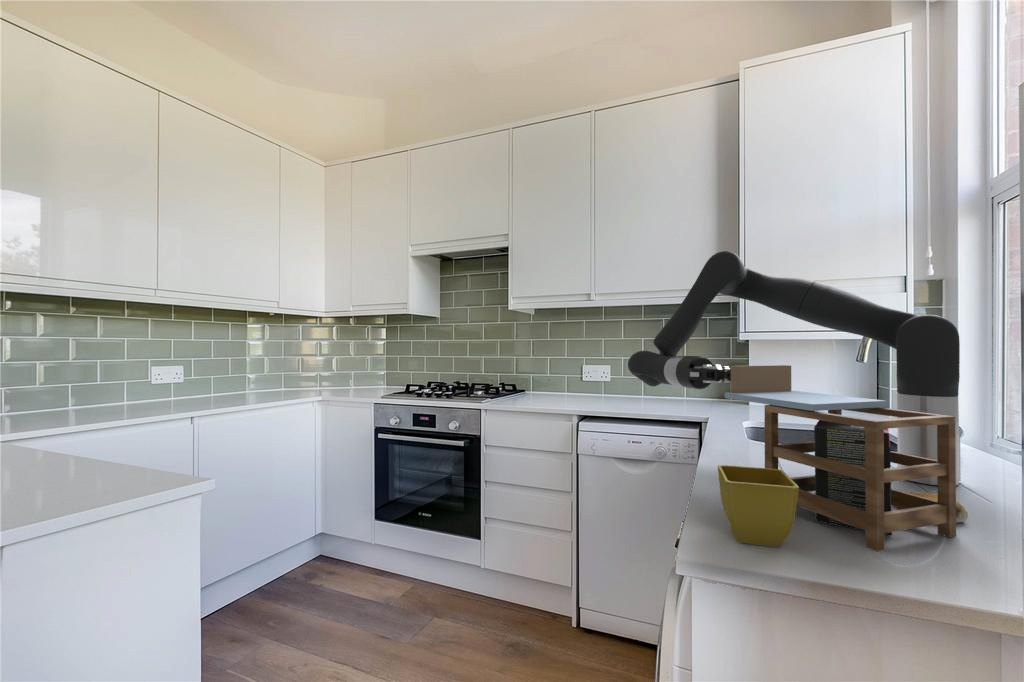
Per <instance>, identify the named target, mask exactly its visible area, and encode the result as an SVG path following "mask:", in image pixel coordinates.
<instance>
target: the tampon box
mask: <svg viewBox="0 0 1024 682" xmlns="http://www.w3.org/2000/svg"><path fill="white" fill-rule="evenodd" d="M813 430H814V433H813V437H814V438H813V440H814V441H815V452H814V455H815V456H819V457H823V458H827V459H831V460H835V461H839V462H843V463H847V464H851V465H856V466H860V467H864V468H865V427H858V426H852V425H846V424H840V423H834V422H828V421H822V420H817V423H816V424H815V425H814V429H813ZM890 451H891V439H890V433H889V428H888V429H884V469H886V468H892V467H891V464H892V462H890ZM814 475H815V492H814V494H815V495H818V496H821V497H824V498H827V499H830V500H834V501H837V502H840V503H843V504H846V505H849V506H852V507H855V508H858V509H861V510H864V511H866V489H865V481H863V480H859V479H855V478H852V477H848V476H844V475H840V474H837V473H833V472H829V471H826V470H822V469H818V468H815V467H814ZM891 488H892V482H888V483H884V512H889V511H892V505H891ZM814 513H815V522H819V523H824V524H825V523H826V524H828V525H829V524H830V525H833V526H838V527H844V528H849V529H854V530H858V531H862V532H863V531H864V530H862V529H859V528H856V527H854V526H851V525H848V524H845V523H843V522H840V521H837V520H835V519H832V518H829V517H827V516H824V515H821V514H819V513H816V512H814ZM864 532H865V531H864ZM884 536H889V537H890V536H891V537H892V536H893V532H890V533H884Z"/></svg>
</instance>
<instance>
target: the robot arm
mask: <svg viewBox="0 0 1024 682" xmlns="http://www.w3.org/2000/svg"><path fill="white" fill-rule="evenodd" d="M719 294H721V295H724V296H729V297H734V298H737V299H742V300H747V301H750V302H753V303H757V304H760V305H762V306H765V307H767V308H769V309H772V310H774V311H777V312H779V313H782V314H785V315H787V316H790V317H793V318H796V319H799V320H801V321H804V322H807V323H810V324H813V325H816V326H820V327H823V328H826V329H827V328H828V329H831V330H833V331H834V330H835V331H839V332H844V333H847V334H853V335H857V336H862V337H866V338H868V339H871V340H874V341H876V342H879V343H880V344H884V345H886V346H888V347H890V348H893V349H895V350H896V353H895V354H896V400H897V401H896V409H898V410H906V411H914V412H923V413H931V414H939V415H947V416H955V446H956V486H959V485H960V482H961V478H962V477H961V474H962V473H961V434H960V432H959V431H960V430H959V429H960V428H959V426H960V422H959V421H960V418H959V417H960V414H959V412H960V411H959V408H960V407H959V405H960V404H959V392H960V390H959V389H960V387H959V385H960V376H961V375H960V366H961V365H960V362H961V361H960V355H961V354H960V343H961V342H960V341H961V340H960V334H959V333H960V332H959V331H958V328H957V327H956V325H955V324H954V323H953V322H952V321H950V320H949V319H948V318H945V317H943V316H939V315H936V314H918V313H912V312H907V311H902V310H897V309H894V308H890V307H886V306H883V305H880V304H877V303H874V302H873V301H870V300H868V299H866V298H863V297H861V296H859V295H857V294H854V293H853V292H852V293H851V292H849V291H847V290H844V289H842V288H838V287H836V286H833V285H830V284H827V283H822V282H820V281H816V280H812V279H807V278H798V277H778V276H771V275H767V274H765V273H762V272H758V271H755V270H752V269H750V268H747V267H746V266H745V265H744V263H743V261H742V259H741V258H740V257H739V255H738V254H737V253H735V252H733V251H729V250H724V251H719V252H717V253H715V254H713V255H711V256H710V257H709V258H708V259H707V261H706V262H705V263H704V266H703V267H702V269H701V271H700V272H699V274H698V276H697V277H696V279H695V282H694V283H693V285H692V286H691V289H690V290H689V291H688V293H687V294H686V296H685V298H684V299H683V300H682V302H681V304H680V305H679V306H678V308H677V309H676V310H675V312H674V313H673V314H672V316H671V317H670V318H669V319H668V321H667V322H666V323H665V324H664V326H663V327H662V328H661V330H660V331H659V332H658V333H657V334H656V335H655V337H654V339H653V342H652V343H653V345H654V346H655V348H656V349H657V350H658V351H659V353H657V352H653V351H648V350H640V351H636V352H634V353H633V354H632V355H630V357H629V359H628V362H627V368H628V370H629V373H631V374H632V375H633V376H635V377H636V378H637V379H639V380H640V381H642V382H643V383H644V384H646V385H648V386H649V387H658V386H659V385H661V384H663V385H664V384H665V385H671V386H676V387H680V388H684V389H694V390H704V389H707V388H708V387H709V386H710V385H712V384H713V383H714V384H715V383H718V384H719V383H730V382H731V367H730V366H729V365H721V364H716V363H715V364H713V363H712V360H710V359H709V358H708V357H706V356H704V355H703V356H702V355H678V353H679V352H680V351H681V349H682V348H683V347H684V345H686V343H688V341H689V340H690V339H691V337H692V336H693V334H694V333H695V332H696V329H697V328H698V326H699V324H700V322H701V321H702V318H703V316H704V314H705V312H706V310H708V307H709V306H710V305H711V303H712V302H713V300H714V299H715V298H716V297H717V296H718V295H719ZM896 418H901V417H896ZM896 429H897V430H896V431H897V432H896V433H897V434H896V435H897V438H896V439H897V452H898V453H903V454H908V455H913V456H918V457H923V458H928V459H933V460H937V425H928V426H915V427H902V428H896ZM904 466H905V465H901V464H897V467H904ZM909 481H910V482H914V483H920V484H925V485H932V486H938V483H937V476H936V477H928V478H920V479H912V480H909Z"/></svg>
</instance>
